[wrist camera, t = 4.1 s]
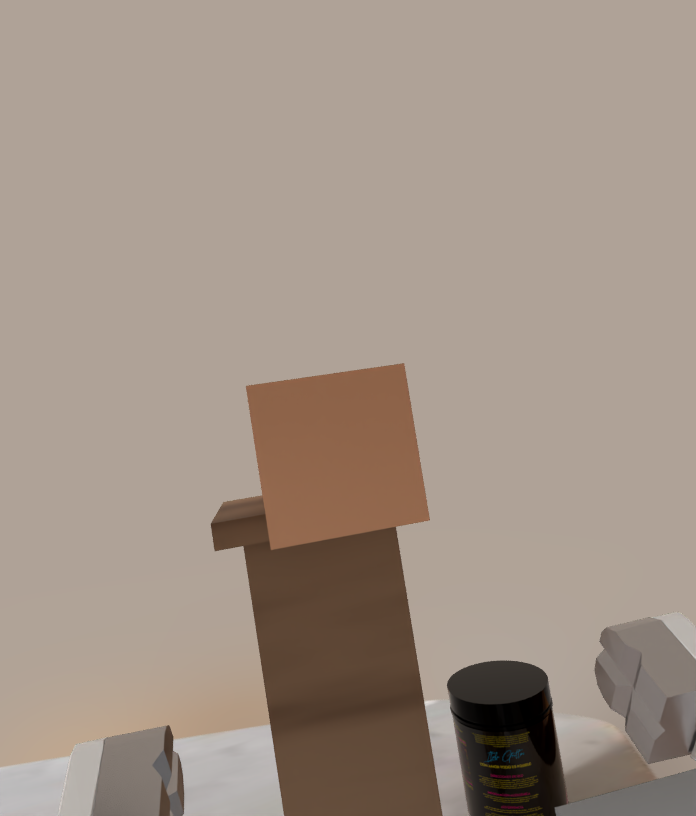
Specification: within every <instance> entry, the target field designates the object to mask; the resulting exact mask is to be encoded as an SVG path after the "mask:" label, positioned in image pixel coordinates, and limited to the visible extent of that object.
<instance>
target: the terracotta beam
mask: <svg viewBox="0 0 696 816" xmlns="http://www.w3.org/2000/svg"><path fill="white" fill-rule="evenodd" d="M246 390H247V396H248V403H249V410H250V417H251V423H252V429H253V435H254V443H255V449H256V455H257V462H258V468H259V475H260V482H261V488H262V495H263V502H264V508H265V515H266V521H267V528H268V534H269V541H270V547H271V550H274V549H279V548H285V547H290V546H295V545H301V544H306V543H311V542H317V541H322V540H327V539H333V538H338V537H343V536H349V535H354V534H359V533H365V532H370V531H375V530H381V529H386V528H391V527H397V526H402V525H407V524H413V523H418V522H423V521H428V520H430V519H429V512H428V506H427V500H426V494H425V488H424V482H423V476H422V470H421V463H420V457H419V451H418V445H417V439H416V433H415V427H414V421H413V415H412V408H411V402H410V396H409V391H408V384H407V378H406V372H405V366H404V363H403V364H396V365H389V366H383V367H376V368H369V369H361V370H354V371H348V372H340V373H333V374H327V375H319V376H312V377H305V378H298V379H291V380H284V381H277V382H270V383H264V384H256V385H249V386H246Z"/></svg>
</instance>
